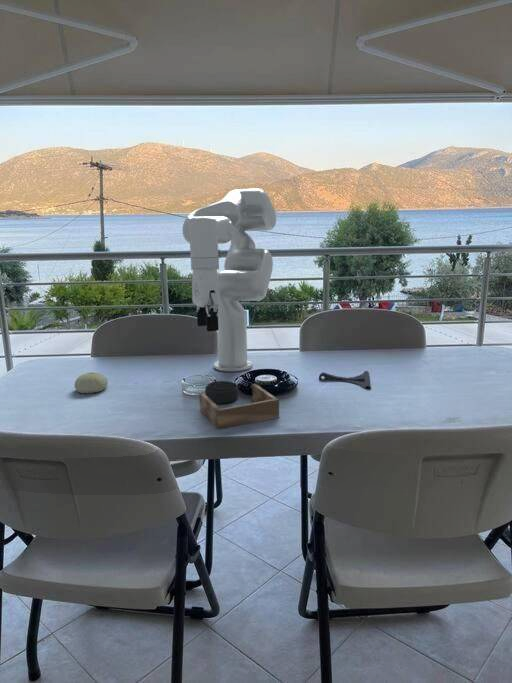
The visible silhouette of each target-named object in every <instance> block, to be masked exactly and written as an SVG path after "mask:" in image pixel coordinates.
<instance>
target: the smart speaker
mask: <svg viewBox="0 0 512 683" xmlns="http://www.w3.org/2000/svg"><path fill="white" fill-rule="evenodd" d="M204 394H205V395H206V396H207V397H208V398H209V399H211V400H212V401H213V402H214V403H215V404H216V405H222V404H223V405H224V404H230V403H233V402H235V401H236V400H238V398H239V386H238V385H237V384H236V383H235V382H233V381H227V380H224V381H223V380H219V381H213V382H210V383H207V385H206V386H205V387H204Z"/></svg>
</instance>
